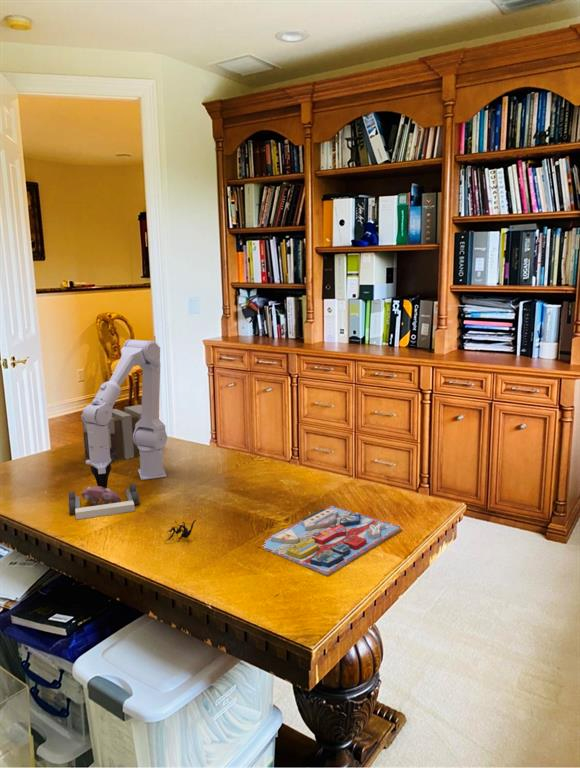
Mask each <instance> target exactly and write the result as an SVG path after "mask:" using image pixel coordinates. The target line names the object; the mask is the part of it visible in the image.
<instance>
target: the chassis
mask: <svg viewBox="0 0 580 768" xmlns="http://www.w3.org/2000/svg"><path fill="white" fill-rule="evenodd" d="M125 496H127V497H126V501H121V502H118V503H113V502H110V503H108V504H104V505H103V504H96V505H93V506H92V505H91V506H85V507H84V506H83V507H81V500H80V495H79V496H76V492H75V491H68V511H69V512H68V513H69V515H70V514H75V521H76V520H84V519H90V518H97V517H104V516H109V515H110V516H111V515H116V514H124V513H130V512H136V511H135V510H136V509H135V505H139V504H140V496H139V492H138V491H137V484H136V483H130V484H129V489H125ZM127 500H128V501H127Z"/></svg>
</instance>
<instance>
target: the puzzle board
mask: <svg viewBox="0 0 580 768" xmlns="http://www.w3.org/2000/svg"><path fill="white" fill-rule="evenodd" d="M400 532H402V526H400V525H397V524H394V523H391V522H387V521H384V520H381V519H377V518H375V517H372V516H371V517H370V516H368V515H364V514H362V513H360V512H354V511H352V510H349V509H344V508H341V507H337V506H334V505H330V506H328V507H324V508H322V509H318V511H316V512H313V513H312V514H309V515H307V516H305V517H304V518H302V519H300V521H298V522H296V523H294V524H293V525H290V526H288V527H287V528H282V529H280V530H278V531H276V532H275V533H272V534H271V536H268V537H266V538H264V539H265V542H264V543H266V544H264V545H265V546H264V545H262V546H264V547H263V549H262V550H264V549H265V550H264V551H266V550H268V551H270V552H269V553H271V552H272V553H271V554H273V553H274V555H275V554H276V555H275V556H279V558H283V559H285V560H287V561H290V562H293V563H294V564H297V565H299V566H302V567H304V568H307V569H309V570H310V571H314V572H316V573H318V574H321V575H323V576H325V577H330V576H331V575H333V574H334V573H336V572H337V571H338V570H340V569H342V568H344V567H345V566H347V565H348V564H350V563H352V562H354V561H355V560H356V559H358V558H360V557H361V556H363V555H365V554H366V553H368V552H369V551H371V550H373V549H374V548H375V547H378V546H379V545H381V544H382V543H383V542H386V541H387V540H388V539H390V538H391V537H393V536H395V535H397V534H398V533H400ZM268 551H267V552H268Z"/></svg>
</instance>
